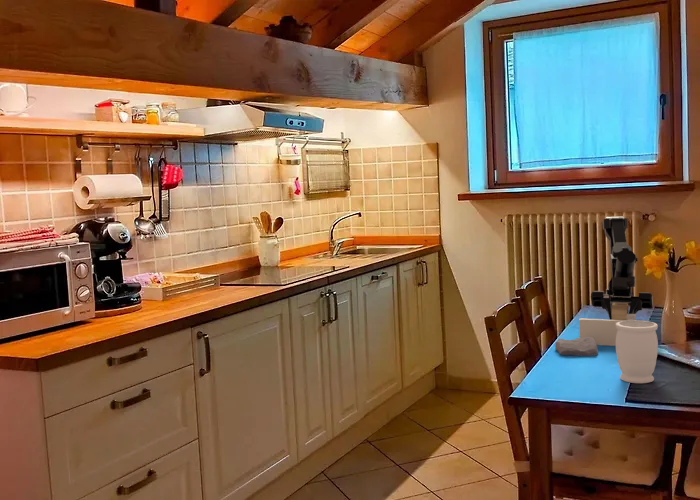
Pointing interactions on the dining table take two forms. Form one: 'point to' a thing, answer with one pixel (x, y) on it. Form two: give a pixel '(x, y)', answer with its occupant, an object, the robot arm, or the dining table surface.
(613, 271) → the robot arm
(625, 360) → the jar
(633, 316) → the hinge post
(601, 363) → the dining table surface
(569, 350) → the stone block
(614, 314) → the block
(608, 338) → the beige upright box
